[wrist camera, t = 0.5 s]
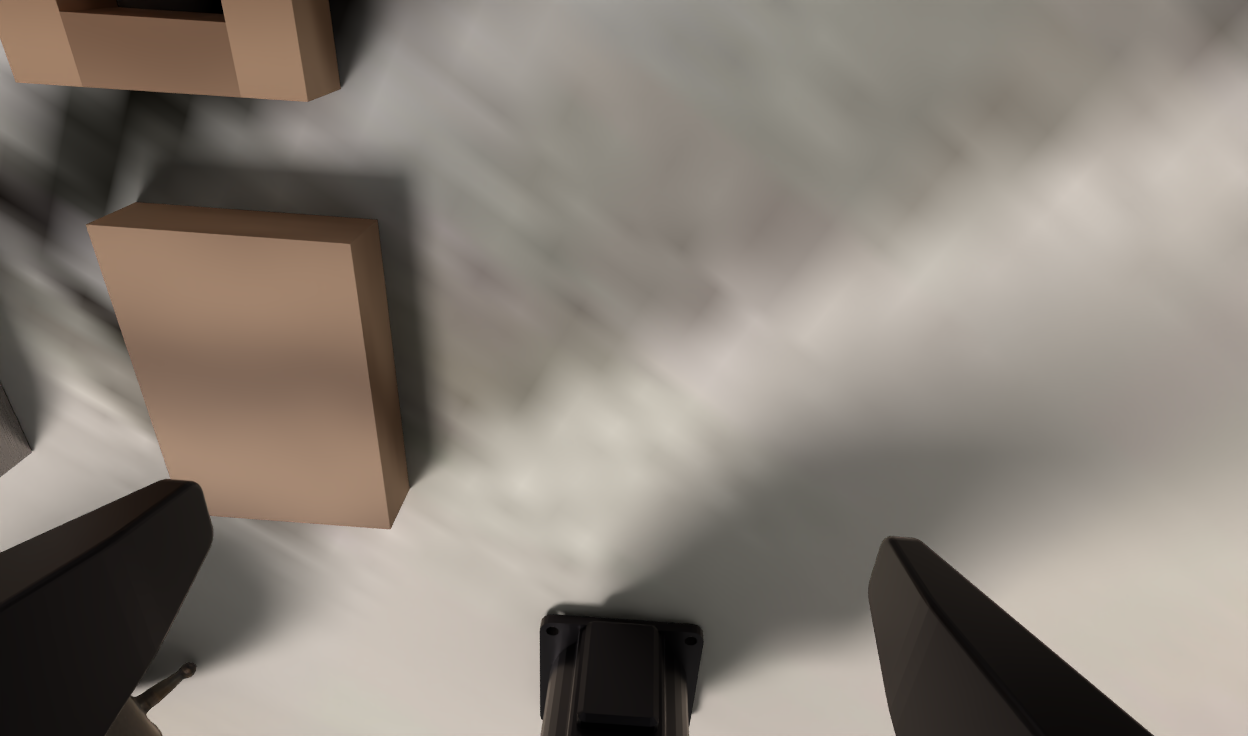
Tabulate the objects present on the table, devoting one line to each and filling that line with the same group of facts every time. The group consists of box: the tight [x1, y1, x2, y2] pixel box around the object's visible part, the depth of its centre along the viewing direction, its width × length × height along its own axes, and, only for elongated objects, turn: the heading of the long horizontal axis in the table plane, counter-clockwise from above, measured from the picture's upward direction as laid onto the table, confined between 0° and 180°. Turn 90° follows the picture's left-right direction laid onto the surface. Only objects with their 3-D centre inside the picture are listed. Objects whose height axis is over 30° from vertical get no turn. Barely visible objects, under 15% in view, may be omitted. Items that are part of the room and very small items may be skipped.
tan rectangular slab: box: [86, 202, 409, 529], centre depth 22 cm, size 10×7×2 cm
